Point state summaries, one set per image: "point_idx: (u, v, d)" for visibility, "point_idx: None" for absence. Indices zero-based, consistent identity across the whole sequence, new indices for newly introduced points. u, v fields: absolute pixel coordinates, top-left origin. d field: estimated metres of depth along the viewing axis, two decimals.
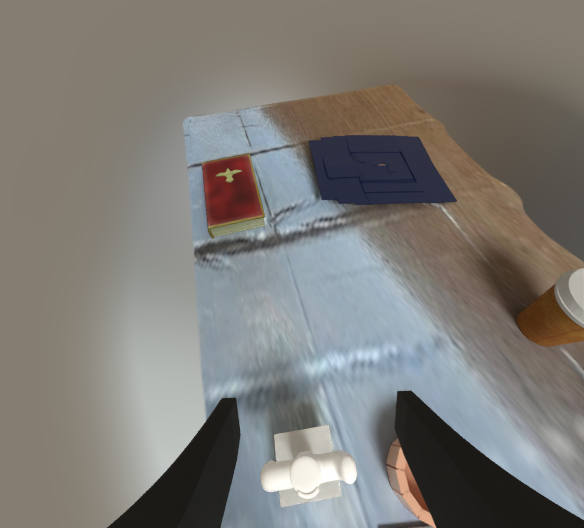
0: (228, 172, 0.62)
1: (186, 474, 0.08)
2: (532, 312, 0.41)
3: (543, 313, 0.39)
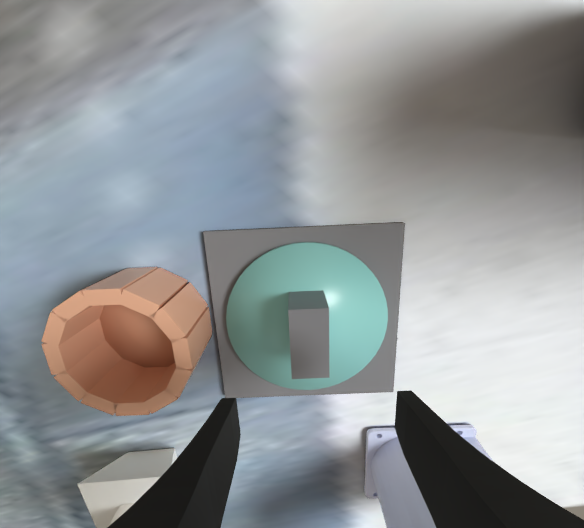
0: None
1: (186, 474, 0.08)
2: None
3: None
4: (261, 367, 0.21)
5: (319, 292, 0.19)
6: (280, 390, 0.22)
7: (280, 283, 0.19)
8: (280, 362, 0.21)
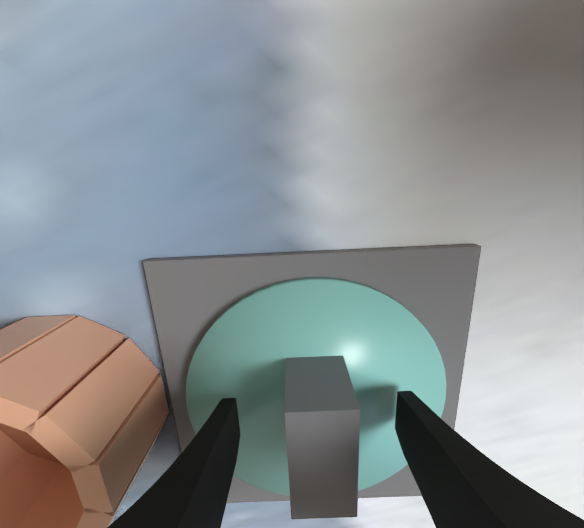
0: None
1: (186, 474, 0.08)
2: None
3: None
4: (245, 467, 0.13)
5: (337, 361, 0.11)
6: (275, 493, 0.15)
7: (273, 345, 0.12)
8: (274, 460, 0.13)
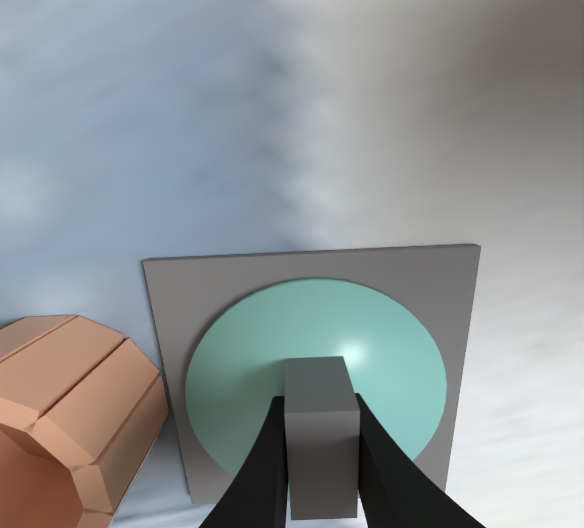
0: None
1: (263, 471, 0.08)
2: None
3: None
4: None
5: (337, 361, 0.11)
6: None
7: (273, 346, 0.12)
8: None
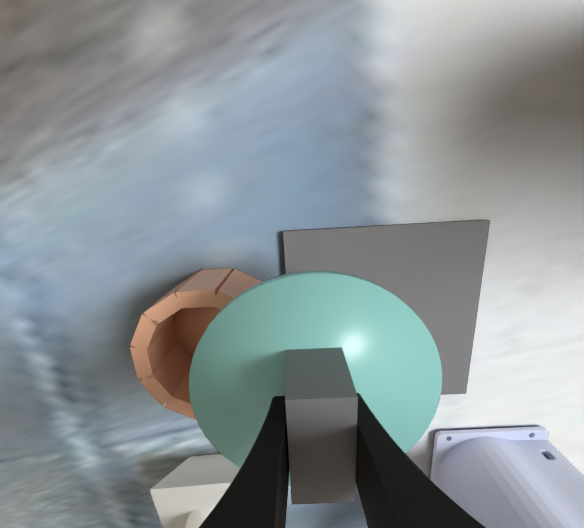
0: None
1: (263, 471, 0.08)
2: None
3: None
4: (246, 457, 0.14)
5: (336, 352, 0.12)
6: None
7: (273, 338, 0.12)
8: None
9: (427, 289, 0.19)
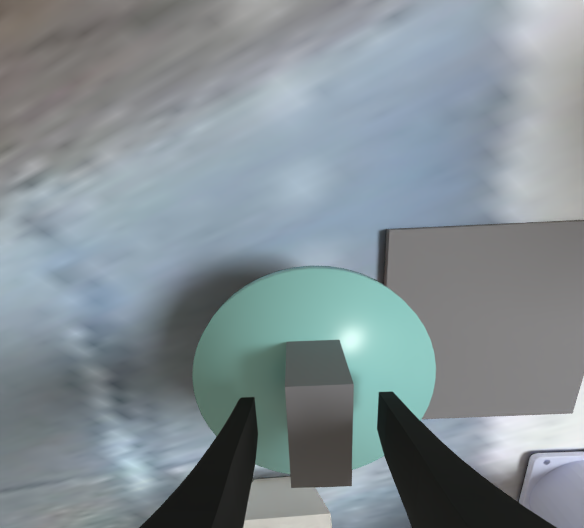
0: None
1: (213, 473, 0.08)
2: None
3: None
4: None
5: (333, 344, 0.12)
6: (444, 412, 0.19)
7: (274, 330, 0.12)
8: (275, 440, 0.14)
9: (546, 297, 0.17)
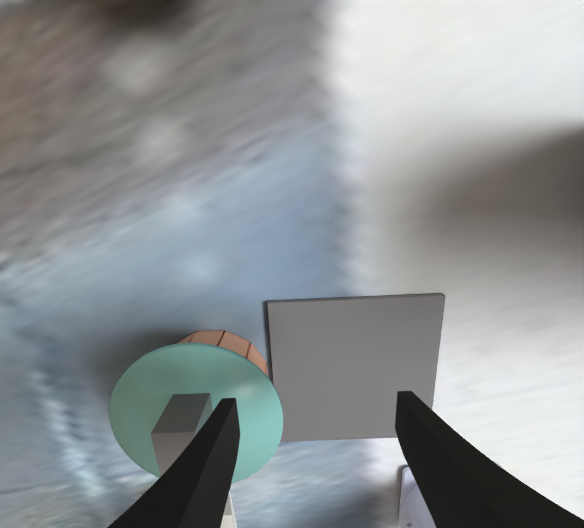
0: None
1: (186, 474, 0.08)
2: None
3: None
4: (154, 466, 0.20)
5: (203, 397, 0.18)
6: (327, 435, 0.25)
7: (163, 386, 0.18)
8: None
9: (393, 350, 0.22)
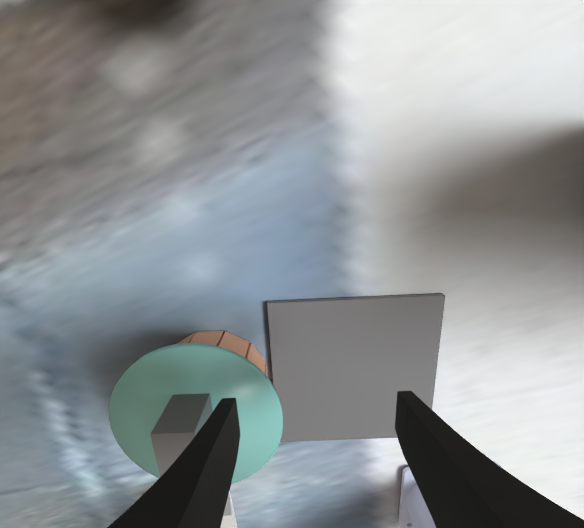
0: None
1: (186, 474, 0.08)
2: None
3: None
4: (154, 466, 0.20)
5: (203, 397, 0.18)
6: (327, 435, 0.25)
7: (163, 387, 0.18)
8: None
9: (392, 350, 0.22)
